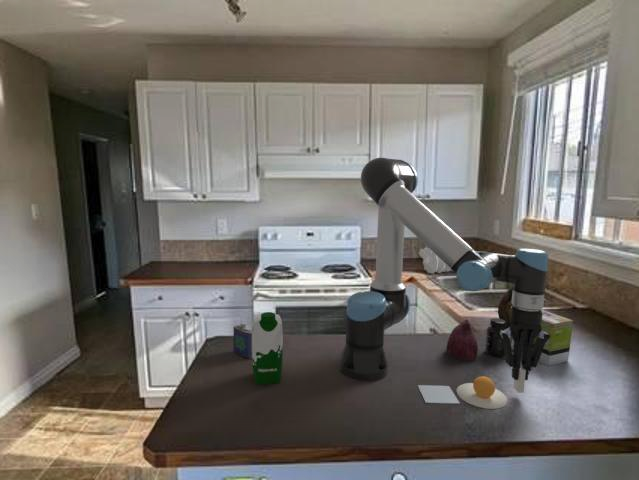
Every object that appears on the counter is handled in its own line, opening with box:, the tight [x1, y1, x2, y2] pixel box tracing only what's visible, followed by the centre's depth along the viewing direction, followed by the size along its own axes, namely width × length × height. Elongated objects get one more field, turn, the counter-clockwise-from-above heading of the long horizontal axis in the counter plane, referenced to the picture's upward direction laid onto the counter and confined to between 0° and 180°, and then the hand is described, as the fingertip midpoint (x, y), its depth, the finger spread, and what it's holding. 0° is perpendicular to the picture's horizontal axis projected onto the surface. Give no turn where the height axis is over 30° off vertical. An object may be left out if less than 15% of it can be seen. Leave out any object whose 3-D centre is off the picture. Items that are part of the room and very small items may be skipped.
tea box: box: [511, 308, 574, 366], centre depth 136 cm, size 15×10×15 cm, turn 23°
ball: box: [472, 375, 496, 398], centre depth 108 cm, size 6×6×6 cm
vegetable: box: [445, 318, 479, 362], centre depth 133 cm, size 10×10×15 cm
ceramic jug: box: [497, 285, 513, 329], centre depth 157 cm, size 17×15×30 cm
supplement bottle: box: [484, 317, 506, 359], centre depth 136 cm, size 7×7×12 cm
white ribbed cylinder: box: [418, 246, 453, 275], centre depth 261 cm, size 18×18×25 cm
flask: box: [232, 323, 252, 360], centre depth 130 cm, size 9×3×11 cm, turn 50°
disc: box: [456, 382, 508, 410], centre depth 109 cm, size 13×13×1 cm
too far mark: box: [417, 384, 461, 405], centre depth 109 cm, size 9×9×1 cm
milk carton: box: [251, 311, 284, 386], centre depth 114 cm, size 9×9×20 cm
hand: (518, 390), depth 109 cm, fingers closed
